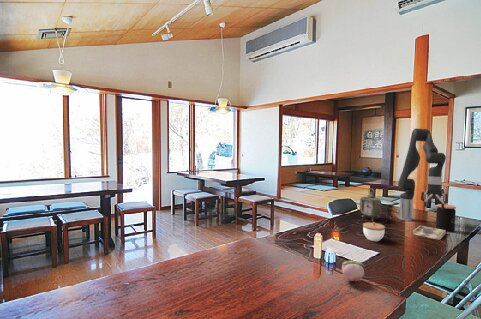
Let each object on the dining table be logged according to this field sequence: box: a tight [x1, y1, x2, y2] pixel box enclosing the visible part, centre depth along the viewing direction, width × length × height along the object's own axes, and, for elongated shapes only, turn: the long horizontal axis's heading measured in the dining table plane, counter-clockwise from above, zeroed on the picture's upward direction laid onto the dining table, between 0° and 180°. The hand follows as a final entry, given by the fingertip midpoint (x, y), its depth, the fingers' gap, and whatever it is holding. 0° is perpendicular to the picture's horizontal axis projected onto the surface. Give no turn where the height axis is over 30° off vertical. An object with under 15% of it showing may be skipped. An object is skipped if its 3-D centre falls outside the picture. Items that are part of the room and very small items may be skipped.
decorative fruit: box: [341, 259, 365, 282], centre depth 121 cm, size 9×8×10 cm
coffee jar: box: [435, 203, 457, 233], centre depth 194 cm, size 11×11×18 cm
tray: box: [412, 225, 447, 241], centre depth 185 cm, size 15×18×3 cm
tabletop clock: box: [359, 188, 382, 222], centre depth 222 cm, size 14×9×25 cm, turn 17°
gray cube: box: [423, 226, 434, 235], centre depth 182 cm, size 4×4×5 cm
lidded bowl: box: [362, 221, 386, 242], centre depth 175 cm, size 13×13×11 cm
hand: (433, 208), depth 178 cm, fingers open, 8 cm apart
